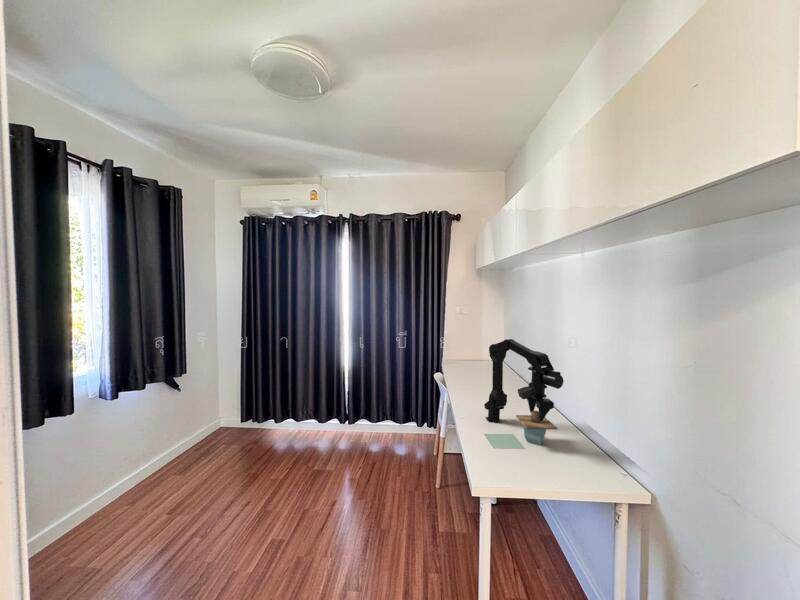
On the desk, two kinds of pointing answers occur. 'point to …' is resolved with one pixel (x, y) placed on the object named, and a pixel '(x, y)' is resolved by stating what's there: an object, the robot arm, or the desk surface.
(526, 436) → the flower pot
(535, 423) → the lid
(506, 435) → the mat
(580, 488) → the desk surface
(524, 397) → the robot arm
